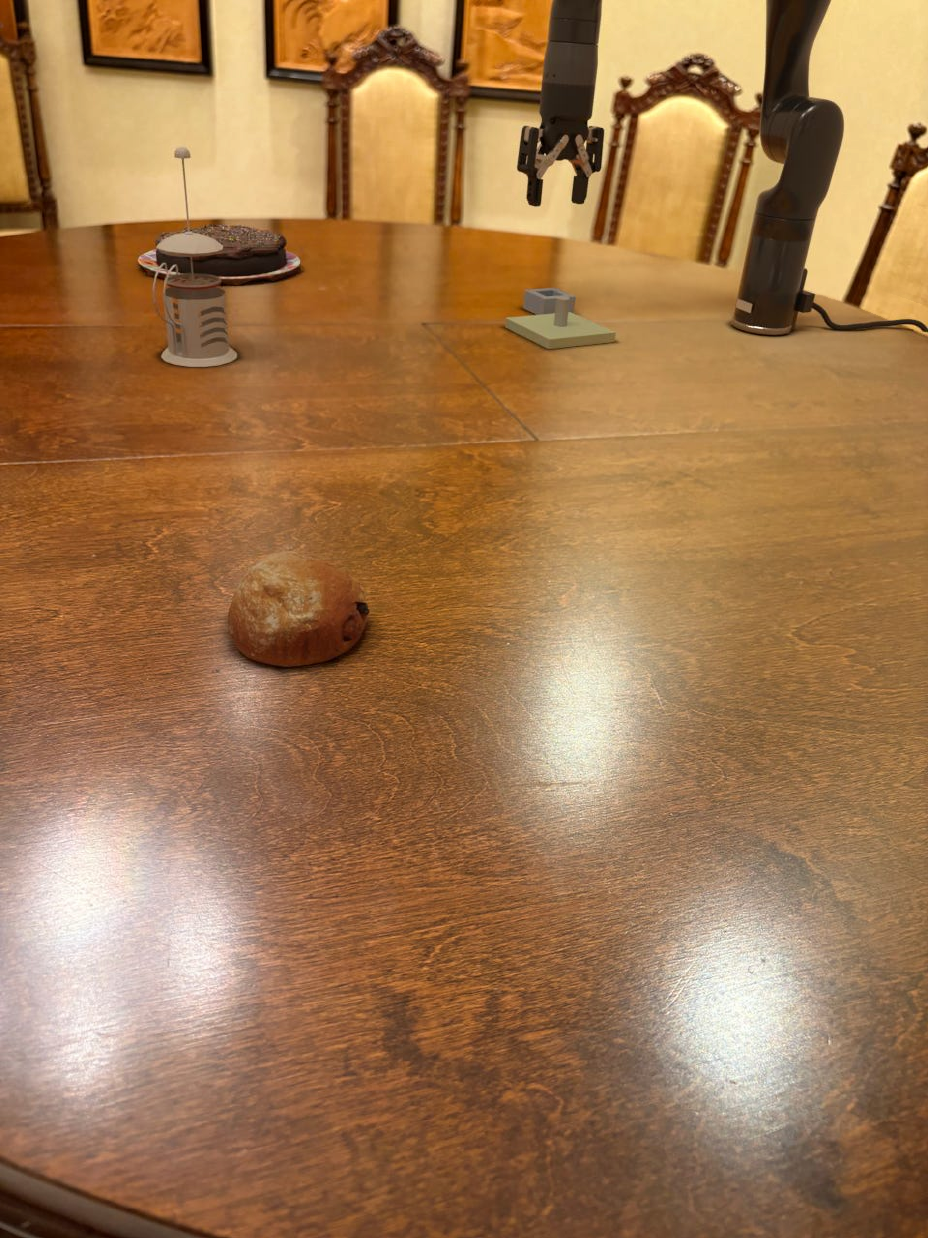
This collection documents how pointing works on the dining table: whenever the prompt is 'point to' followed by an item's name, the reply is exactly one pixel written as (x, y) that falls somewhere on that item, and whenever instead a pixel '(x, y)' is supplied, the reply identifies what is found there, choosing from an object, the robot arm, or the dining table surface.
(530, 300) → the gray rectangular block
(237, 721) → the dining table surface
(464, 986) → the dining table surface
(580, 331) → the green peg base
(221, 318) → the french press
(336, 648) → the bread roll
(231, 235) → the chocolate cake
